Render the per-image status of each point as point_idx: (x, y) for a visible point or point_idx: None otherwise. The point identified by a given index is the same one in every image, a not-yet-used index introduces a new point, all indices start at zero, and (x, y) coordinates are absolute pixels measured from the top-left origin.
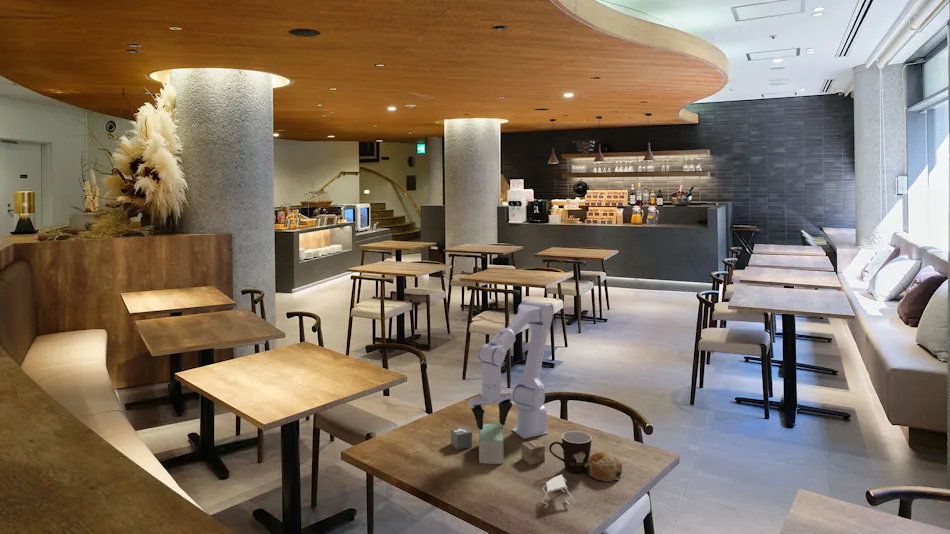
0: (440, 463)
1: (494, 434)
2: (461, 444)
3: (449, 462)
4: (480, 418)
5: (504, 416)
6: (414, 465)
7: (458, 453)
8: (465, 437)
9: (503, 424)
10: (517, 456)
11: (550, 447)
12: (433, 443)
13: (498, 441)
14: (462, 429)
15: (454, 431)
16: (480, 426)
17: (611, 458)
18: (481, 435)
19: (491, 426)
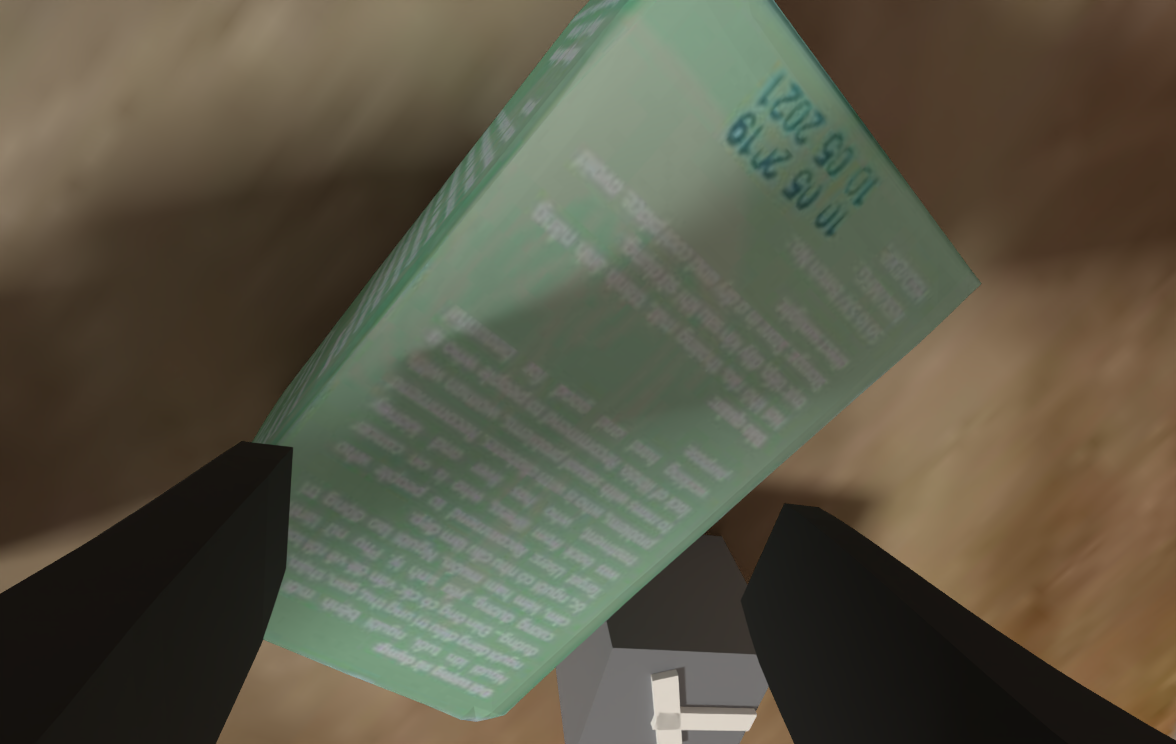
0: (1000, 417)
1: (611, 314)
2: (698, 565)
3: (945, 391)
4: (1087, 708)
5: (149, 590)
6: (1123, 493)
7: (764, 483)
8: (676, 611)
9: (269, 450)
10: (292, 21)
11: None
12: (766, 693)
13: (766, 5)
14: (655, 727)
15: (752, 722)
16: (873, 549)
17: None
18: (802, 415)
19: (420, 596)
